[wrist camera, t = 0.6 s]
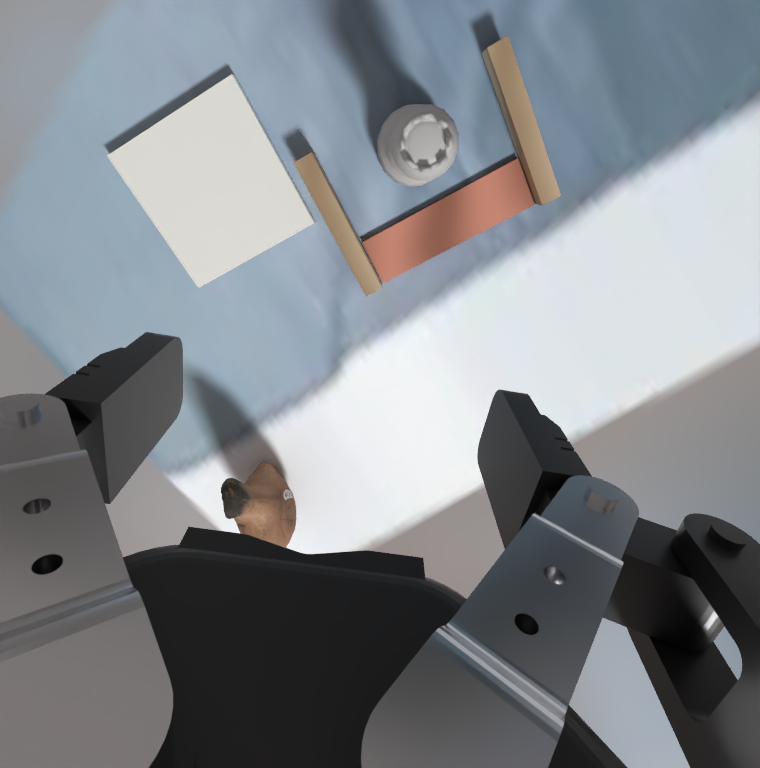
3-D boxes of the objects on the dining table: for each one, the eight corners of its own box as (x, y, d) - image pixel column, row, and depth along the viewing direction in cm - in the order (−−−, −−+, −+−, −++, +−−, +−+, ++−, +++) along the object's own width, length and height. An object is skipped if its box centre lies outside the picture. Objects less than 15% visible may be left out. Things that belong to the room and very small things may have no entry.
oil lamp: (226, 436, 38) (191, 503, 30) (273, 424, 37) (250, 489, 30) (267, 521, 41) (245, 598, 34) (311, 511, 41) (298, 587, 34)
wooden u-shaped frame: (501, 41, 27) (508, 35, 25) (552, 194, 30) (561, 195, 29) (297, 162, 29) (293, 162, 28) (366, 290, 33) (366, 296, 31)
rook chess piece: (361, 138, 29) (358, 131, 22) (422, 86, 28) (440, 61, 20) (404, 201, 30) (414, 215, 23) (463, 155, 29) (493, 154, 22)
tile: (234, 75, 27) (232, 73, 27) (315, 221, 31) (314, 222, 30) (111, 155, 29) (107, 155, 28) (201, 285, 32) (198, 287, 32)
